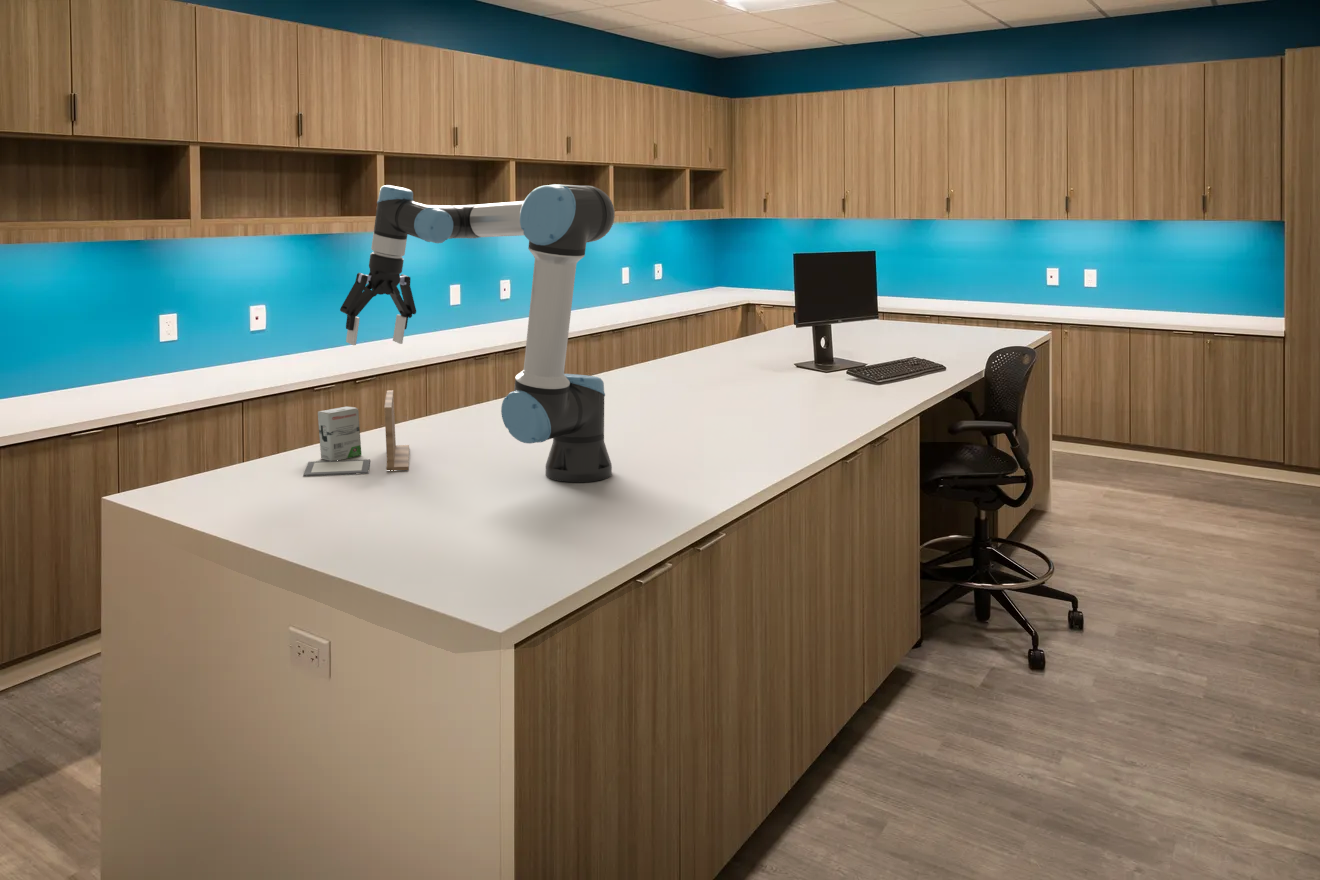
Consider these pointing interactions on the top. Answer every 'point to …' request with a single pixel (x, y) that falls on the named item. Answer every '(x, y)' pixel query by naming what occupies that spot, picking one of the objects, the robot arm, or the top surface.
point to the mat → (337, 467)
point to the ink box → (339, 433)
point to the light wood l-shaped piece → (395, 453)
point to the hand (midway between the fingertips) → (374, 343)
